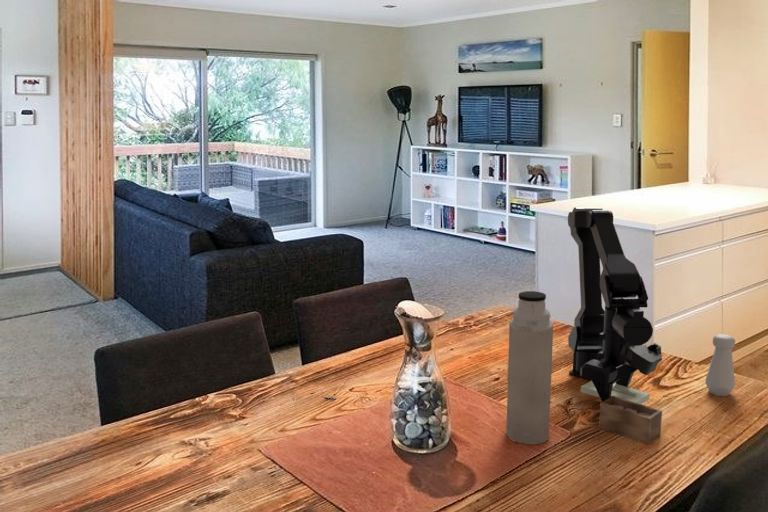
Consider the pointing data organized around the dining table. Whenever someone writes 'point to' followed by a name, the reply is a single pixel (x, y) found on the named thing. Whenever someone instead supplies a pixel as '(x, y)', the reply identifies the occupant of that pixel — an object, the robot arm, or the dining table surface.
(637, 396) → the lid
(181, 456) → the dining table surface
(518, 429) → the thermos bottle
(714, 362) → the salt shaker
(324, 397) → the fork
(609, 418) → the box
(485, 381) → the dining table surface
